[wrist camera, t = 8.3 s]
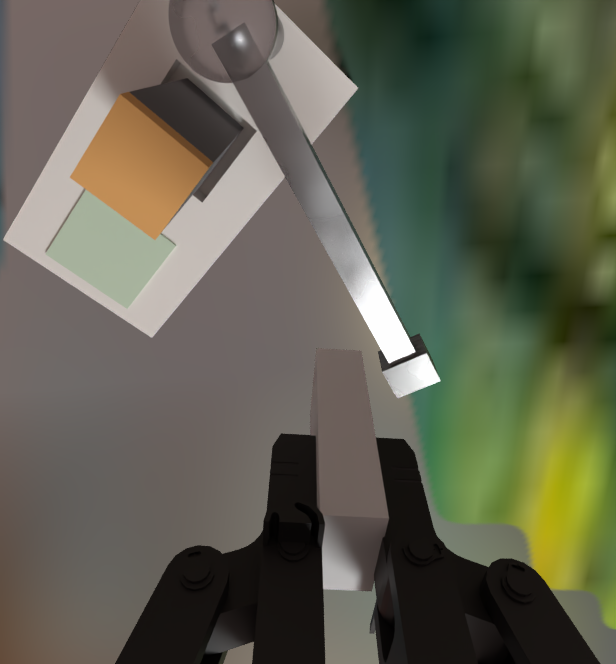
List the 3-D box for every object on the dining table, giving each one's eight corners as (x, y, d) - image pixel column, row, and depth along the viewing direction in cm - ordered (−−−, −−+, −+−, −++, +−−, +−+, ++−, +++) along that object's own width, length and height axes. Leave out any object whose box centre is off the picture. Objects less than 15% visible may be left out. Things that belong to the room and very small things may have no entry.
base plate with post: (199, -73, 25) (100, -177, 13) (354, 85, 28) (382, 110, 17) (23, 227, 33) (-132, 322, 22) (161, 320, 37) (91, 445, 25)
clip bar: (159, 1, 15) (143, -4, 14) (244, -61, 15) (237, -73, 13) (380, 382, 23) (385, 403, 21) (445, 354, 22) (453, 375, 21)
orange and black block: (187, 78, 27) (120, 93, 18) (243, 128, 29) (208, 167, 19) (149, 134, 29) (69, 177, 20) (205, 179, 30) (155, 240, 21)
